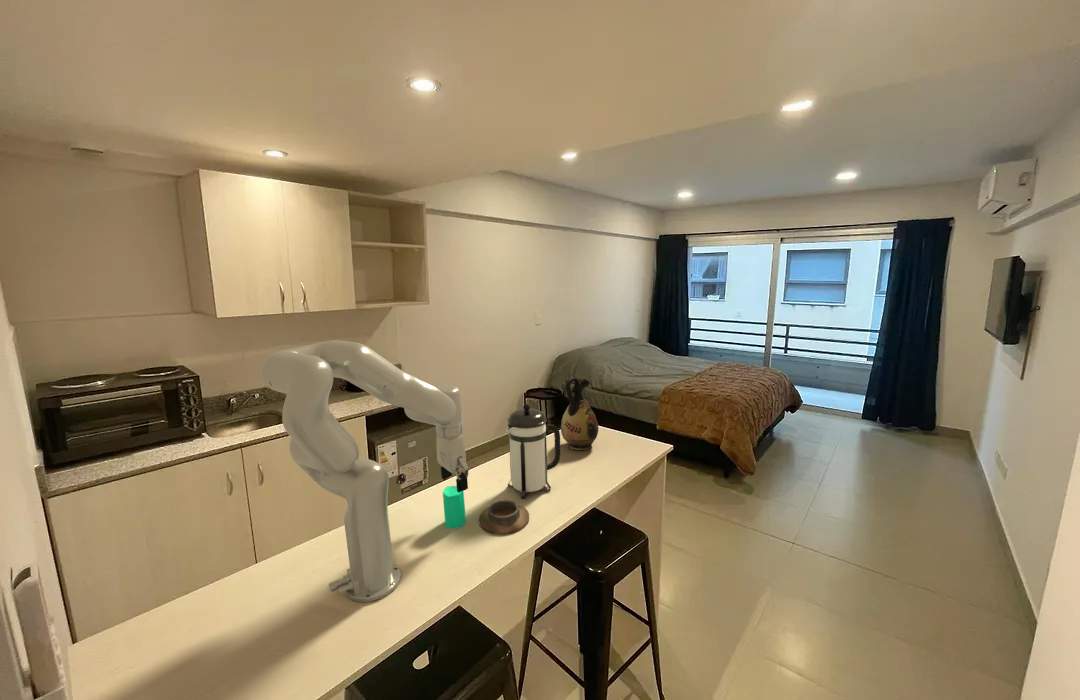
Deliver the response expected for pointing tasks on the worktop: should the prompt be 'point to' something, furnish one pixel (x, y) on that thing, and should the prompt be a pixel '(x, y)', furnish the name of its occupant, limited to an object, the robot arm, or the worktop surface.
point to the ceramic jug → (578, 417)
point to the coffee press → (530, 450)
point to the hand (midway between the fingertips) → (454, 483)
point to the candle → (454, 507)
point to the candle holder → (503, 518)
